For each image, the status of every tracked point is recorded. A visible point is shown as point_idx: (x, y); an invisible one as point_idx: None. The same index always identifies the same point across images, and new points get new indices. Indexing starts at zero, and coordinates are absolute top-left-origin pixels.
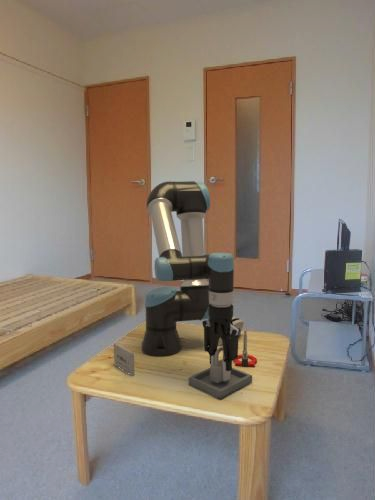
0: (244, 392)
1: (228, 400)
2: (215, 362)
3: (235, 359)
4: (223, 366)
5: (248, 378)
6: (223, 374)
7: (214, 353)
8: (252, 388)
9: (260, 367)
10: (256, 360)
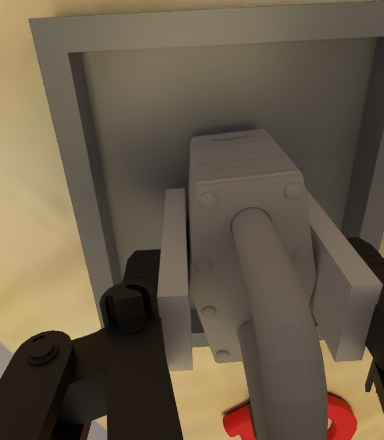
0: (52, 219)
1: (19, 64)
2: (258, 230)
3: (330, 410)
4: (175, 253)
5: (102, 319)
6: (175, 212)
7: (375, 342)
8: (64, 279)
9: (201, 425)
10: None
